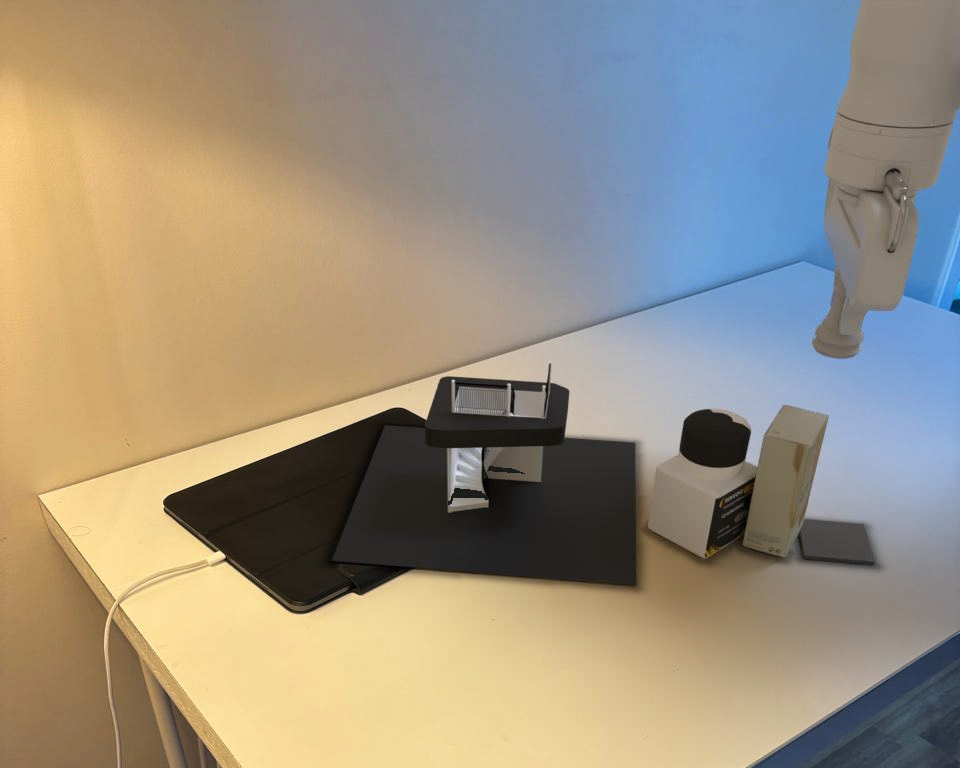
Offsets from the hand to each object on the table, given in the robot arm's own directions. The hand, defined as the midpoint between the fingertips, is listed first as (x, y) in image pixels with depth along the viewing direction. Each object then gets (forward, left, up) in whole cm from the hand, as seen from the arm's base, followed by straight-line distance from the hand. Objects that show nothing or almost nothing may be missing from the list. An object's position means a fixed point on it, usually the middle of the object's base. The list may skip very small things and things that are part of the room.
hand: (843, 321), depth 88 cm
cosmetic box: (+3, +7, -19) cm, 20 cm away
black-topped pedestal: (+30, +4, -19) cm, 36 cm away
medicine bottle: (+10, +7, -19) cm, 23 cm away
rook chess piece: (0, 0, -3) cm, 3 cm away
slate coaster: (-3, +7, -19) cm, 20 cm away
